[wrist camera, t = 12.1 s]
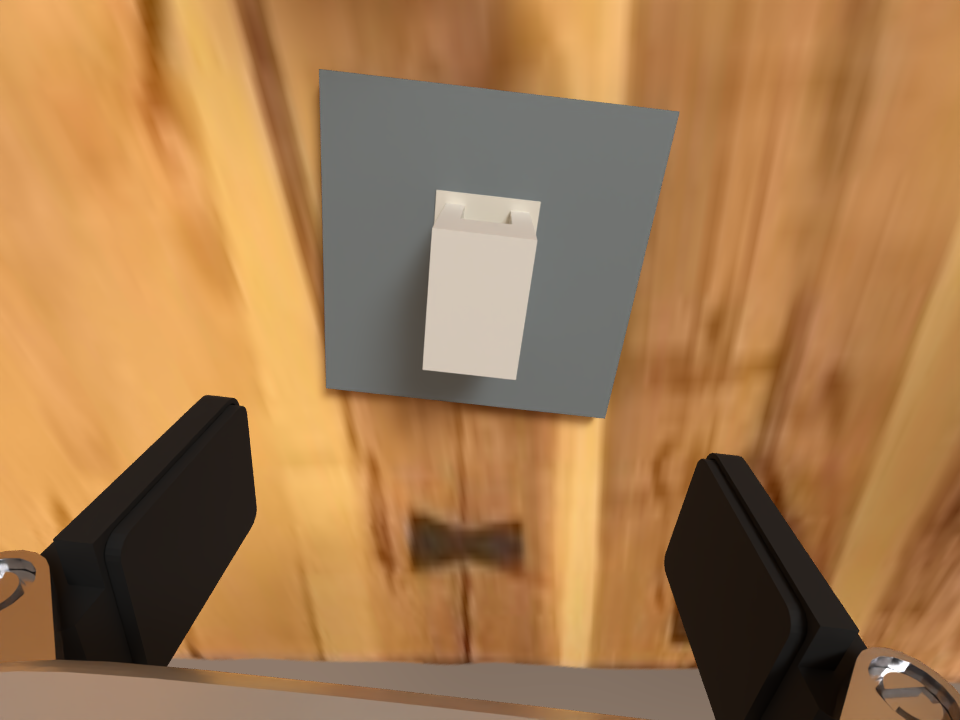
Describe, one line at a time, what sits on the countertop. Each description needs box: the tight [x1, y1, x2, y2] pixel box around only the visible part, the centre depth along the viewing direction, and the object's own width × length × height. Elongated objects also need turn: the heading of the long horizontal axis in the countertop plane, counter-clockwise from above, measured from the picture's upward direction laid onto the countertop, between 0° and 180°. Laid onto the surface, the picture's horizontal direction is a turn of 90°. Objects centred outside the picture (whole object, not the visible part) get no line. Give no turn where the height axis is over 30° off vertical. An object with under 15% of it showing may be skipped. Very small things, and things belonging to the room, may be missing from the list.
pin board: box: [319, 69, 679, 418], centre depth 26 cm, size 16×16×4 cm
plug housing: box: [423, 203, 537, 380], centre depth 24 cm, size 4×6×6 cm, turn 174°
